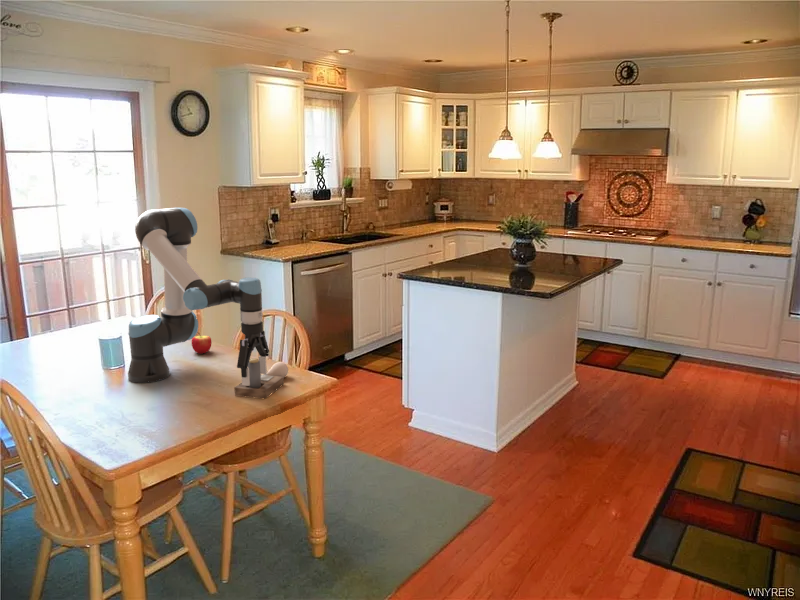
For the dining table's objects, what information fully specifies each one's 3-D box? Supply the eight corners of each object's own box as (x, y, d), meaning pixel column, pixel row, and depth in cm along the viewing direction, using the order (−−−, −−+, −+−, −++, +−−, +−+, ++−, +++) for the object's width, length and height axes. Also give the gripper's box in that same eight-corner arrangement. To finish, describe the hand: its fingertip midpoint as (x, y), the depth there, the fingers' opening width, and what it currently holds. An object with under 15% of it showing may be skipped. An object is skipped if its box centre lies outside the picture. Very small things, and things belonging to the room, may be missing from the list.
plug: (246, 394, 231) (245, 361, 228) (252, 390, 236) (251, 357, 233) (257, 395, 230) (256, 362, 227) (263, 391, 234) (262, 358, 231)
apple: (188, 353, 278) (186, 330, 276) (205, 348, 284) (204, 327, 282) (198, 357, 273) (196, 334, 270) (215, 352, 279) (214, 330, 277)
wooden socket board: (235, 395, 231) (234, 386, 230) (255, 381, 245) (254, 373, 244) (265, 398, 228) (264, 390, 227) (283, 384, 242) (283, 376, 241)
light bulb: (261, 372, 241) (287, 359, 246) (256, 370, 246) (280, 358, 252) (268, 387, 242) (293, 374, 248) (262, 385, 248) (287, 373, 253)
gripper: (244, 331, 214) (247, 392, 219) (276, 314, 237) (279, 369, 242) (224, 329, 216) (227, 389, 221) (258, 312, 239) (261, 367, 244)
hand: (254, 379), depth 232 cm, fingers open, 12 cm apart
